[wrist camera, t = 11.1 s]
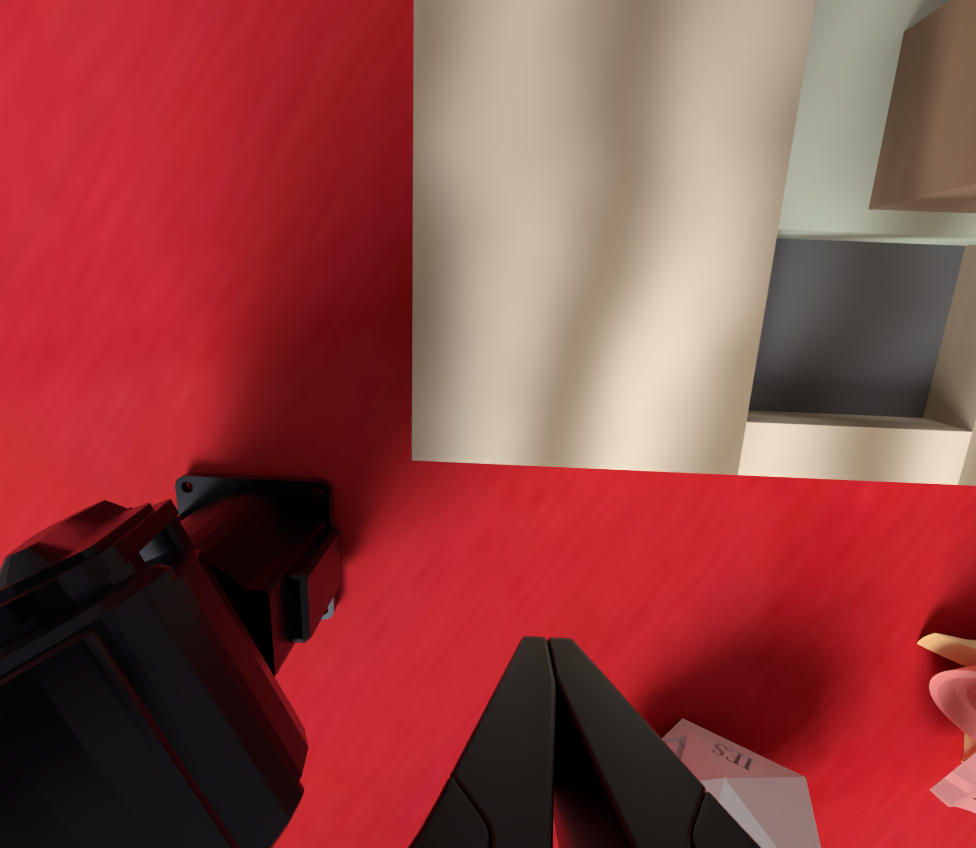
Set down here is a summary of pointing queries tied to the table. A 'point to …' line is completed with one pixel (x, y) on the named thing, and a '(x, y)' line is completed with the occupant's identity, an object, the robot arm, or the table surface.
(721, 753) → the die
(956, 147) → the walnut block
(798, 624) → the table surface
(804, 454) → the board
